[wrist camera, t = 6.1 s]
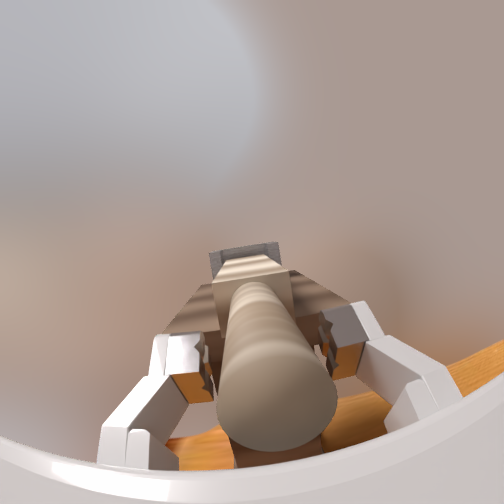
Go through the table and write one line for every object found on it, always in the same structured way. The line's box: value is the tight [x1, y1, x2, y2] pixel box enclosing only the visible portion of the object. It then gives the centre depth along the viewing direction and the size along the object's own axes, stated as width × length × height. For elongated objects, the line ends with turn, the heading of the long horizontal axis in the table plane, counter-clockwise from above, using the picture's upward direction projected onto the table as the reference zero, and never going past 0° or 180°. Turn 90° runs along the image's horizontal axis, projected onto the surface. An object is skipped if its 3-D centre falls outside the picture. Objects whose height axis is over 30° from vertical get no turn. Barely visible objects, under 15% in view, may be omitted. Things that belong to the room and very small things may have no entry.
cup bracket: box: [209, 242, 282, 280], centre depth 34 cm, size 5×8×4 cm, turn 93°
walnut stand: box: [162, 270, 351, 469], centre depth 27 cm, size 20×12×26 cm, turn 3°
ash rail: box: [212, 254, 338, 452], centre depth 18 cm, size 26×4×3 cm, turn 2°
